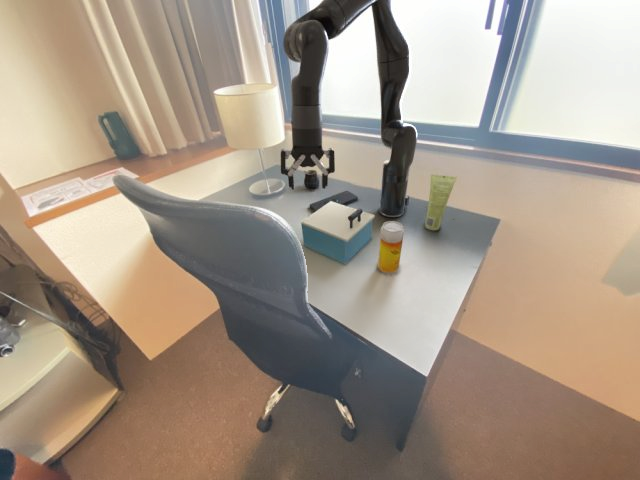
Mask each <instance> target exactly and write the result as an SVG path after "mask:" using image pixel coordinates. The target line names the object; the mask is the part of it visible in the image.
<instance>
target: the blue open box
mask: <svg viewBox="0 0 640 480" xmlns="http://www.w3.org/2000/svg"><path fill="white" fill-rule="evenodd" d="M300 224H301V223H300ZM372 231H373V219H372V220H371V221H370V222H369V223H368V224H367V225H366V226H365V227H363V228H362V229H361V230H360V231H359V232H358V233H357V234H356V235H354V236H353V237H352V238H351V239H350V240H349V241H348V242H346V241H344V240H341V239H339V238H336V237H334V236H331V235H329V234H326V233H324V232H321V231H319V230H316V229H314V228H311V227H309V226H306V225H304V224H301V233H302V241H303V246H304V247H305V248H309V249H311V250H312V251H315V252H317V253H319V254H322V255H324V256H326V257H328V258H330V259H332V260H334V261H337V262H339V263H341V264H343V265H346V264H347V263H348V262H349V261H350V260H351V259H352V258H353V257H354V256H355V255H356V254H357V253H358V252H360V250H362V248H364V247H365V246H366V245H367V244H368V243H369V242H370V241H371V240H372V235H373V233H372Z"/></svg>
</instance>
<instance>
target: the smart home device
mask: <svg viewBox="0 0 640 480" xmlns="http://www.w3.org/2000/svg"><path fill="white" fill-rule="evenodd" d="M358 200H359V196H358V195H356V194H354V193H352V192H350V191H349V190H344V191H342V192H339V193H336V194H334V195H331V196H329V197H326V198H323V199H320V200H317V201H314V202H312V203H310V204H309V209H310V210H311V211H313V213H314V212H316V211H317V210H319V209H320V208H322V207H323V206H324V205H326V204H327V203H329V202H330V201H332V202H335V203H338V204H341V205H344V206H348V205H349V204H352V203H356V202H358Z"/></svg>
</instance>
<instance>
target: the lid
mask: <svg viewBox="0 0 640 480" xmlns="http://www.w3.org/2000/svg"><path fill="white" fill-rule="evenodd" d="M375 218H376V215H375V214H373V213H370V212H366V211H363V209H362V208H360V207H358V208H354V207H350V206H348V205H345V206H344V205H341V204H338V203H335V202H332V201H330V202H329V203H327V204H326V205H324V206H323V207H322V208H320V209H319V210H317V211H316V212H314V211H313V213H311V214H310V215H309V216H307V217H306V218H304V219H303V220H301V221H300V224H304V225H306V226H309V227H311V228H314V229H316V230H319V231H321V232H324V233H326V234H329V235H331V236H334V237H336V238H339V239H341V240H344V241H346V242H348V241H349V240H350V239H351V238H352V237H353V236H354V235H356V234H357V233H358V232H359V231H360V230H361V229H362V228H363V227H365V226H366V225H367V224H368V223H369V222H370V221H371V220H372V221H373V220H374V219H375Z"/></svg>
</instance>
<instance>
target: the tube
mask: <svg viewBox="0 0 640 480" xmlns="http://www.w3.org/2000/svg"><path fill="white" fill-rule="evenodd" d="M457 178H458V177H457V176H452V175H451V176H450V175H442V174H441V175H439V174H432V173H431V174H430V189H429V197H428V204H427V211H426V217H425V223H424V228H425V229H427V230H429V231H438V230H440V227H441V223H442V221H443V217H444V214H445V211H446V207H447V205H448V201H449V199H450V196H451V193H452V190H453V188H454V185H455V183H456V181H457Z"/></svg>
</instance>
